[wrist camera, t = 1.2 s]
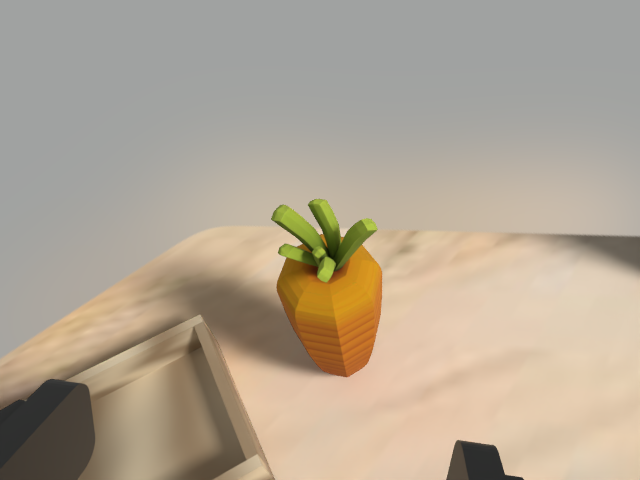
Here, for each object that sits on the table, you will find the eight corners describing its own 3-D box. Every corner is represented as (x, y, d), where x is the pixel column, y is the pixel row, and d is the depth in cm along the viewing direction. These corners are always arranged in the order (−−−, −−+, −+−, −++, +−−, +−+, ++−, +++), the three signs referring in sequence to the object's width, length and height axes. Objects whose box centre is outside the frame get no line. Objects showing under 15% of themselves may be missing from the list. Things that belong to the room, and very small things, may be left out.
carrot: (401, 360, 30) (405, 193, 18) (355, 426, 28) (327, 284, 16) (337, 320, 32) (305, 149, 21) (291, 379, 30) (225, 224, 18)
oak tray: (216, 340, 32) (200, 314, 30) (275, 481, 26) (261, 465, 24) (-61, 480, 29) (-109, 465, 26) (-66, 682, 23) (-128, 689, 20)
